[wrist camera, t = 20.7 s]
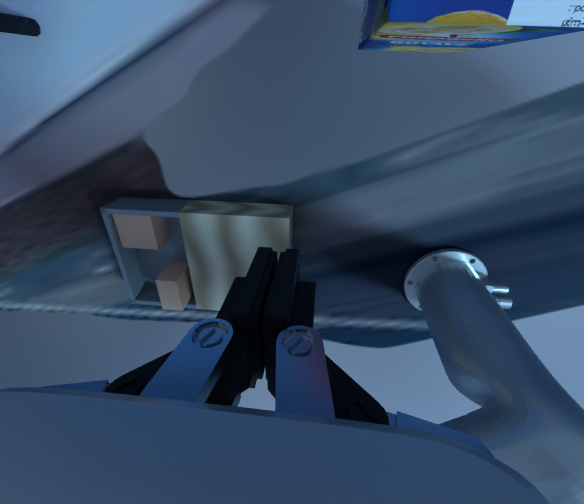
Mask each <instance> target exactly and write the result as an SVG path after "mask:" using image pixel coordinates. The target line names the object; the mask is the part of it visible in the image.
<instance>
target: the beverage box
mask: <svg viewBox="0 0 584 504" xmlns="http://www.w3.org/2000/svg"><path fill="white" fill-rule="evenodd" d="M578 31H584V0H364V7H363V16H362V24H361V31H360V40H359V48H358V49H363V50H388V51H389V50H390V51H415V52H442V53H456V52H462V51H467V50H474V49H479V48H485V47H491V46H497V45H503V44H509V43H514V42H520V41H526V40H532V39H538V38H543V37H549V36H555V35H561V34H567V33H573V32H578Z"/></svg>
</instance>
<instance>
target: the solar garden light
mask: <svg viewBox="0 0 584 504" xmlns="http://www.w3.org/2000/svg"><path fill="white" fill-rule="evenodd" d="M0 32H6V33H13V34H21V35H29V36H38V35H39V34H40V26H39V25H38V23H37V22H36V21H35V20H33V19H30V18H26V17H21V16H15V15H10V14H4V13H0Z"/></svg>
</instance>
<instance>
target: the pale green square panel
mask: <svg viewBox="0 0 584 504" xmlns="http://www.w3.org/2000/svg"><path fill="white" fill-rule="evenodd" d="M178 215H179V220H180V225H181V230H182V235H183V240H184V245H185V250H186V255H187V260H188V265H189V270H190V275H191V280H192V285H193V290H194V295H195V300H196V305H197V309H206V310H218V311H220V308H221V306H222V304H223V302H224V300H225V298H226V296H227V294H228V292H229V289H230V287H231V285H232V283H233V281H234V279H235V277H246V275H247V272H248V270H249V268H250V265H251V263H252V260H253V258H254V256H255V253H256V251H257V249H258V247H272V249H273V251H277V257H278V259H279V256H280V252H285V251H286V248H288V249H293V205H284V204H263V203H243V202H222V201H202V200H191V201H190V202H189V203H188V204H187V205H186V206H185V207H184V208H182V209H181V210H180V211H179V212H178Z"/></svg>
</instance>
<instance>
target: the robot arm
mask: <svg viewBox="0 0 584 504" xmlns="http://www.w3.org/2000/svg"><path fill="white" fill-rule="evenodd" d="M299 270H300V249H288V248H286V251H285V252H280V256H279V259H278V257H277V251H273V249H272V247H258V249H257V251H256V253H255V256H254V258H253V260H252V263H251V265H250V268H249V270H248V272H247V275H246V277H235V279H234V281H233V283H232V285H231V287H230V289H229V292H228V294H227V296H226V298H225V300H224V302H223V304H222V306H221V308H220V311H219V313H218V315H217V317H216V318H211V319H206V320H203V321H200V322H198V323H197V324H195V325H194V326H193V327H192V328H191V329H190V330H189V331H188V333H187V334H186V335H185V336H184V338H183V339H182V340H181V342H180V343H179V344H178V346H177V347H176V348H175V350H173V351H171V352H169V353H167V354H165V355H163V356H161V357H159V358H157V359H155V360H153V361H151V362H149V363H147V364H145V365H143V366H141V367H138V368H137V369H134V370H132V371H130V372H128V373H126V374H124V375H122V376H121V377H119V378H117V379H116V380H114V381H113V382H112V383H109V382H108V380H100V381H91V382H81V383H71V384H61V385H53V386H52V385H51V386H44V387H22V388H21V387H19V388H5V389H0V504H584V410H583V408H582V407H581V406H580V405H579V404H578V403H577V402H576V401H575V400H574V399H573V398H572V397H571V396H570V395H569V394H568V393H567V391H566V390H565V389H564V388H563V387H562V386H561V385H560V384H559V383H558V381H557V380H556V379H555V378H554V377H553V376H552V374H551V373H550V372H549V371H548V369H547V368H546V367H545V366H544V364H543V363H542V362H541V360H540V359H539V358H538V357H537V355H536V354H535V353H534V351H533V350H532V349H531V347H530V346H529V345H528V343H527V342H526V340H525V339H524V338H523V336H522V335H521V334H520V332H519V331H518V330H517V328H516V327H515V326H514V324H513V323H512V321H511V320H510V319H509V317H508V316H507V314H506V313H505V312H504V310H503V309H502V308H507V309H509V308H511V306H512V299H511V297H509V296H493V295H492V294H491V293H492V292H497V293H508V291H509V287H508V285H506V284H492V283H491V282H490V281H489V280H488V273H487V269H486V267H485V266H484V264H483V263H482V261H481V260H480V259H479V258H478V257H477V256H475V255H474V254H472V253H470V252H468V251H465V250H461V249H451V248H449V249H441V250H437V251H433V252H431V253H428V254H426V255H424V256H423V257H421V258H419V259H418V260H417V261H416V262H414V263H413V264H412V266H411V267H410V268H409V269H408V271H407V273H406V275H405V278H404V286H403V287H404V292H405V294H406V297H407V299H408V300H409V302H410V303H411V304H412V305H413V306H414V307H416V308H417V309H419V310H421V311H422V312H423V315H424V317H425V320H426V323H427V325H428V328H429V330H430V333H431V336H432V338H433V341H434V343H435V346H436V349H437V351H438V354H439V356H440V359H441V362H442V364H443V367H444V369H445V372H446V374H447V376H448V378H449V380H450V381H451V383H452V384H453V386H454V387H455V388H456V389H457V390H458V391H459V392H460V393H462V394H463V395H464V396H465V397H467V398H468V399H470V400H471V401H473V402H475V403H476V404H478V405H480V406H481V408H480V409H477V410H475V411H473V412H470V413H468V414H467V415H463V416H461V417H458V418H455V419H452V420H449V421H446V422H444V423H441V424H435V423H432V422H429V421H426V420H423V419H420V418H417V417H414V416H411V415H407V414H404V413H401V412H398V411H397V413H396V415H395V414H392V413H389V412H386V411H385V409H384V408H383V407H382V406H381V405H380V404H379V402H377V401H376V400H375V399H374V398H373V397H372V396H371V395H370V394H368V393H367V392H366V391H365V390H364V389H363V388H362V387H361V386H360V385H358V384H357V383H356V382H355V381H354V380H353V379H352V378H351V377H350V376H349V375H347V374H346V373H345V372H344V371H343V370H342V369H341V368H340V367H339V366H337V365H336V364H335V363H334V362H333V361H332V360H331V359H330V358H329V357H327V356H326V355H325V351H324V345H323V341H322V338H321V336H320V335H319V333H318V332H317V331H315V330H314V329H313V323H314V309H315V293H316V282H307V281H299ZM264 369H266V380H268V390H269V392H270V393H271V394H272V395H273V396H274V397H275V400H276V401H275V405H276V406H275V411H269V410H260V409H252V408H243V407H238V404H239V402H240V398H241V393H242V392H243V391H245V390H246V389H248V388H255V385H256V381H257V379H262V377H263V373H264Z"/></svg>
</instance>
